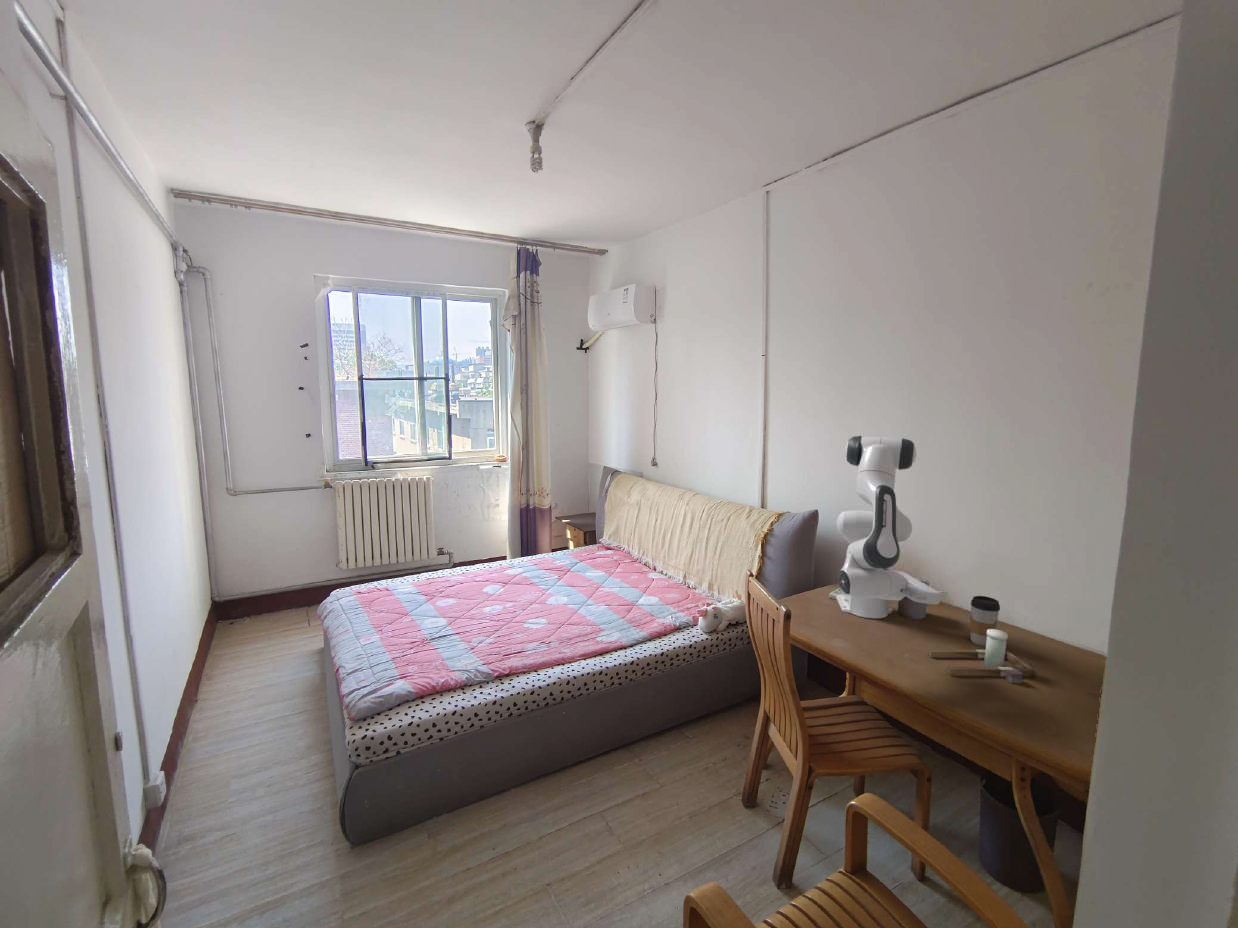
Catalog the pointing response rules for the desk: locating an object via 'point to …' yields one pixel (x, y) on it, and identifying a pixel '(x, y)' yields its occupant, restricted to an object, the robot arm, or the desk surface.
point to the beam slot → (1011, 673)
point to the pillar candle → (912, 606)
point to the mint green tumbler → (995, 648)
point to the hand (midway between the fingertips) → (936, 588)
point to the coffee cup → (983, 618)
